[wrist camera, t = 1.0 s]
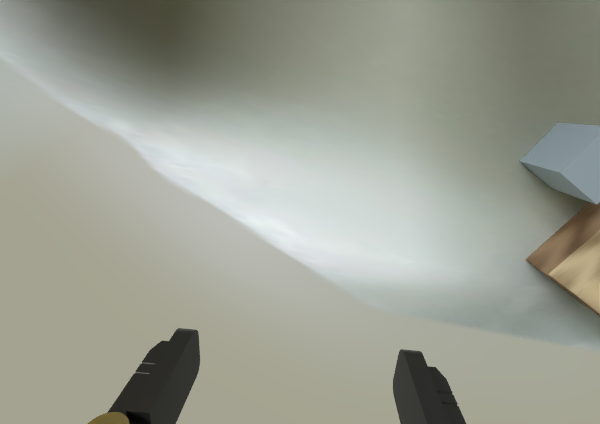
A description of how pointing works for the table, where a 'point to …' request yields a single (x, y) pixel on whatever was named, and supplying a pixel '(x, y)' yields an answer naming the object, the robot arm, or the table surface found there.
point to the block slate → (569, 160)
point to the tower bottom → (567, 242)
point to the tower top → (582, 272)
